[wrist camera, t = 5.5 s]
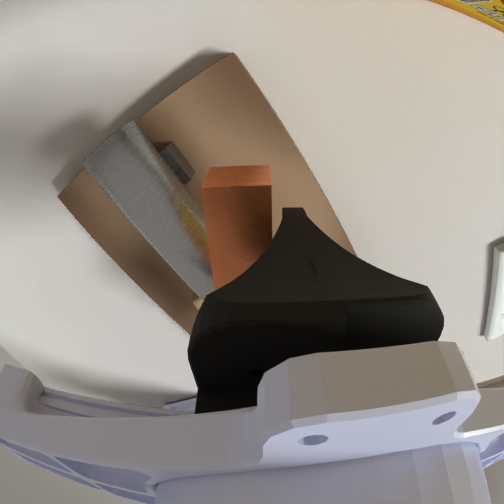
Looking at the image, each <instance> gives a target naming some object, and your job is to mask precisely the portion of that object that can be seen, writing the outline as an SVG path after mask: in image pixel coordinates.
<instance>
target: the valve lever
mask: <svg viewBox="0 0 504 504" xmlns="http://www.w3.org/2000/svg"><path fill="white" fill-rule="evenodd" d="M201 192H202V200H203V208H204V216H205V223H206V231H207V238H208V245H209V252H210V259H211V266H212V273H213V280H214V286H215V290H217V289H219V288H221V287H222V286H224V285H226V284H228V283H230V282H231V281H233V280H234V279H236V278H237V277H238V276H240V275H241V274H242V273H244V272H245V271H246V270H247V269H248V268H249V267H250V266H251V265H252V264H253V263H254V262H255V261H256V260H257V259H258V258H259V257H260V256H261V254H262V253H263V252H264V251H265V249H266V248H267V247H268V245H269V244H270V242H271V240H272V184H271V173H270V165H248V166H224V167H210V168H209V171H208V173H207V175H206V177H205V180H204V182H203V184H202V187H201Z"/></svg>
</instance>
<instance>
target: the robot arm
mask: <svg viewBox="0 0 504 504" xmlns="http://www.w3.org/2000/svg"><path fill="white" fill-rule="evenodd" d="M443 327H444V316H443V314H442V311H441V309H440V307H439V305H438V303H437V301H436V300H435V298H434V296H433V294H432V293H431V291H430V289H429V288H428V286H425V285H422V284H419V283H415V282H412V281H409V280H406V279H403V278H400V277H397V276H395V275H393V274H390V273H388V272H385V271H383V270H381V269H379V268H377V267H374V266H373V265H371V264H369V263H367V262H365V261H363V260H361V259H360V258H358V257H356V256H355V255H353V254H352V253H350V252H349V251H347V250H346V249H344V248H343V247H341V246H340V245H338V244H337V243H336V242H335V241H333V240H332V239H331V238H330V237H329V236H327V235H326V234H325V233H324V232H323V231H322V230H321V229H319V228H318V227H317V226H316V225H315V224H314V223H313V222H312V221H311V220H310V218H309V217H308V216H307V215H306V212H305V210H304V209H303V207H282V220H281V223H280V225H279V227H278V229H277V232H276V234H275V235H274V237H273V239H272V240H271V242H270V244H269V245H268V247H267V248H266V249H265V251H264V252H263V253H262V254H261V256H260V257H259V258H258V259H257V260H256V261H255V262H254V263H253V264H252V265H251V266H250V267H249V268H248V269H247V270H246V271H245V272H244V273H242V274H241V275H240V276H238V277H237V278H236V279H234V280H233V281H231V282H230V283H228V284H226V285H224V286H222V287H221V288H219V289H217V290H215V291H213V292H211V293H209V294H207V295H206V297H205V299H204V301H203V303H202V305H201V307H200V309H199V312H198V314H197V316H196V319H195V322H194V324H193V328H192V331H191V336H190V341H189V346H188V360H189V363H190V366H191V369H192V372H193V375H194V378H195V381H196V384H197V387H198V392H197V398H193V399H189V400H184V401H180V402H176V403H171V404H167V405H164V406H163V409H161V408H152V407H144V406H137V405H130V404H123V403H117V402H111V401H105V400H100V399H95V398H90V397H85V396H80V395H75V394H71V393H67V392H62V391H58V390H54V389H50V388H46V387H44V386H43V384H42V383H41V381H40V380H39V379H38V377H36V376H35V375H34V374H33V373H32V372H30V371H28V370H26V369H22V368H18V367H14V366H11V365H8V364H6V365H4V367H3V369H2V371H1V373H0V444H2V445H3V446H4V447H6V448H7V449H8V450H10V451H11V452H13V453H14V454H16V455H17V456H18V457H20V458H21V459H23V460H25V461H27V462H29V463H31V464H34V465H36V466H38V467H41V468H43V469H45V470H47V471H50V472H52V473H54V474H57V475H60V476H62V477H64V478H67V479H69V480H72V481H75V482H77V483H80V484H83V485H85V486H88V487H91V488H94V489H97V490H100V491H103V492H106V493H109V494H112V495H116V496H119V497H123V498H126V499H130V500H133V501H137V502H141V503H145V504H491V500H490V495H489V490H488V486H487V481H486V477H485V474H484V469H483V468H485V467H487V466H489V465H491V464H493V463H495V462H497V461H499V460H501V459H503V458H504V375H503V376H500V377H497V378H494V379H491V380H488V381H484V382H481V383H477V384H476V382H475V380H474V377H473V375H472V373H471V370H470V368H469V366H468V364H467V361H466V359H465V357H464V355H463V353H462V351H461V350H460V348H459V347H458V345H457V344H456V343H454V342H441V341H438V339H439V337H440V335H441V332H442V330H443Z"/></svg>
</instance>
